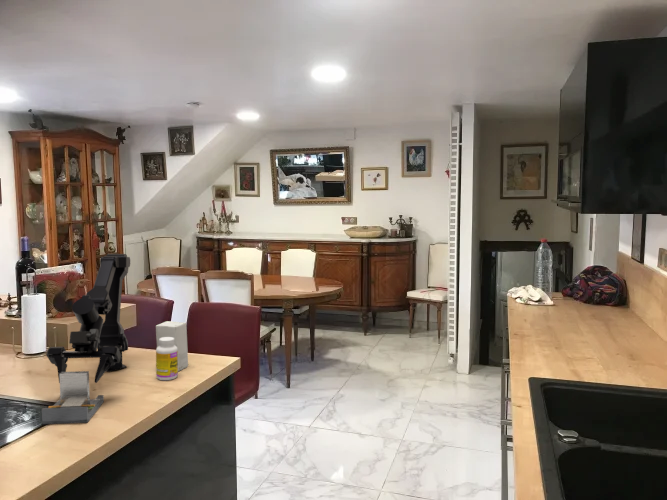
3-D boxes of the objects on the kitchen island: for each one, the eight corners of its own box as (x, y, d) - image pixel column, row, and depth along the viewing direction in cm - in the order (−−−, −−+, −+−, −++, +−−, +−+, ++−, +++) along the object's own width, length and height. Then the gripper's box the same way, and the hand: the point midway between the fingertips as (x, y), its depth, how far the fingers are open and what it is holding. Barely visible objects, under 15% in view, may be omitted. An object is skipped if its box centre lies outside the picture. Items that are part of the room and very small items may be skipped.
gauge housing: (62, 403, 149) (62, 389, 148) (103, 401, 150) (103, 388, 150) (42, 424, 135) (41, 409, 134) (87, 422, 136) (86, 407, 136)
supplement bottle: (171, 381, 167) (170, 342, 165) (152, 380, 168) (151, 340, 167) (181, 374, 173) (181, 336, 172) (163, 373, 175) (162, 335, 173)
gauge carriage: (53, 407, 143) (52, 372, 142) (98, 406, 144) (97, 370, 143) (47, 414, 139) (46, 377, 138) (93, 412, 140) (92, 376, 139)
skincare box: (188, 366, 181) (188, 322, 180) (177, 372, 175) (176, 326, 174) (168, 363, 184) (167, 320, 183) (156, 369, 178) (155, 324, 176)
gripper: (47, 319, 147) (31, 370, 137) (117, 318, 150) (106, 368, 140) (59, 338, 156) (45, 388, 146) (125, 337, 158) (115, 386, 148)
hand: (77, 382), depth 145 cm, fingers open, 9 cm apart
